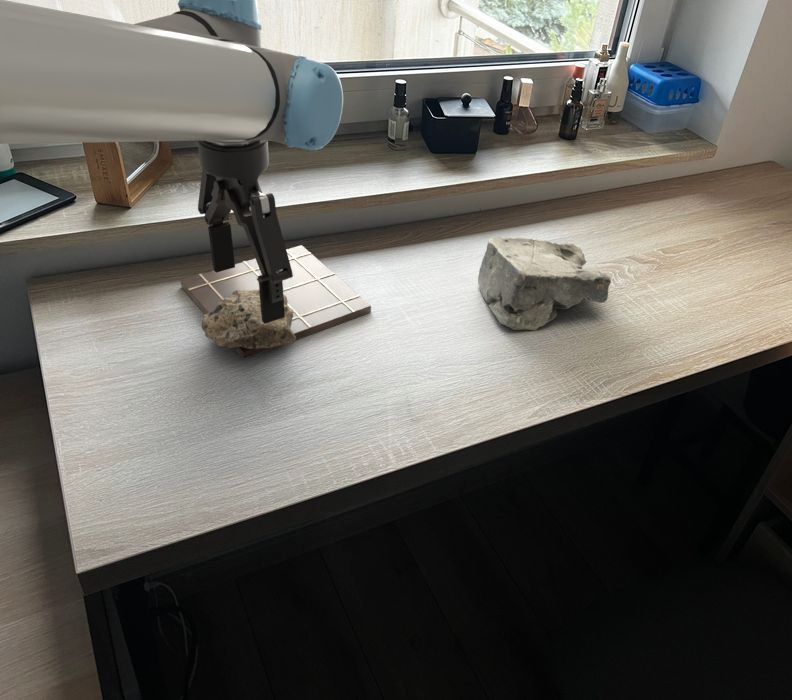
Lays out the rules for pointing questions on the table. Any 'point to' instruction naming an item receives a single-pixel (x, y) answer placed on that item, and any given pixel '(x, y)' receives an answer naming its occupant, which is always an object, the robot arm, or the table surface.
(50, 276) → the table surface
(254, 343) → the rock
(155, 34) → the robot arm
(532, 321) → the grey broken concrete chunk
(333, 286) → the grid board
